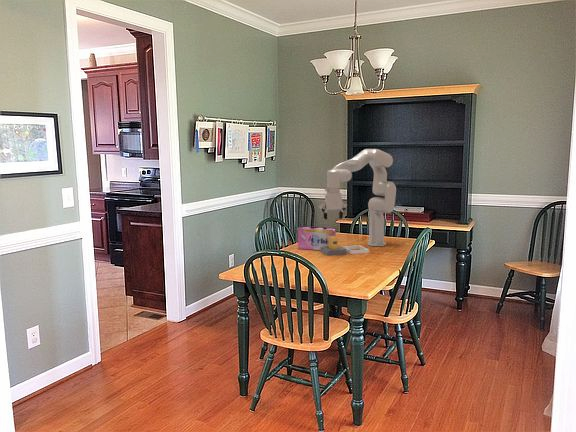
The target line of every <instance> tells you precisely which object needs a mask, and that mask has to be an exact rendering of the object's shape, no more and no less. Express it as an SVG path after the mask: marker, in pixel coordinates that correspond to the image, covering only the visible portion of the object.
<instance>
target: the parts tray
mask: <svg viewBox="0 0 576 432" xmlns="http://www.w3.org/2000/svg"><path fill="white" fill-rule="evenodd" d="M341 247H342V248H344V249H346V253H347V254H350V255H357V254H370V249H369V248H366V247H365V246H362V245H360V244H357V245H342V246H341Z"/></svg>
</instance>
